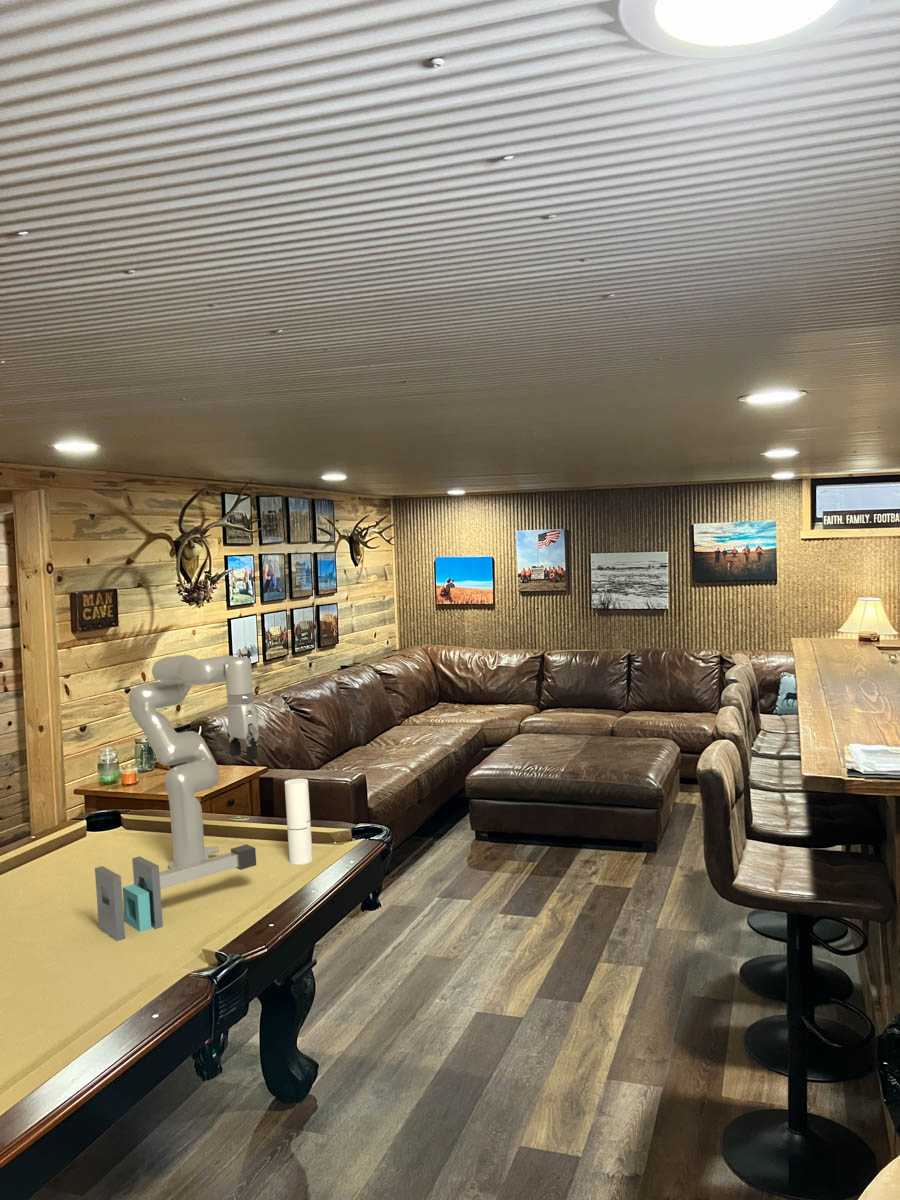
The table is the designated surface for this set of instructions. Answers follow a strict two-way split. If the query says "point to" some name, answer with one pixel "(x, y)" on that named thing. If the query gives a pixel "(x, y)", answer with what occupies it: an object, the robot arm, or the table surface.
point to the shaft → (208, 867)
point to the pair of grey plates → (112, 896)
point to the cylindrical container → (298, 821)
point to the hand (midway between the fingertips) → (244, 757)
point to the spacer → (137, 907)
